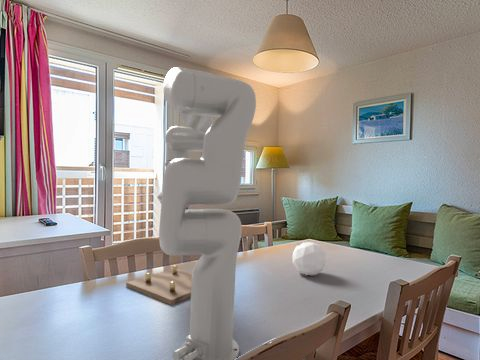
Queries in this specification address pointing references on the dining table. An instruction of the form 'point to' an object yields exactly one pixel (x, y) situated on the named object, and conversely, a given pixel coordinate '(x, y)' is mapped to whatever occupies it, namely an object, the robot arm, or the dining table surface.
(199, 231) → the robot arm
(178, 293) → the walnut board
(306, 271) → the geodesic sphere
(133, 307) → the dining table surface
